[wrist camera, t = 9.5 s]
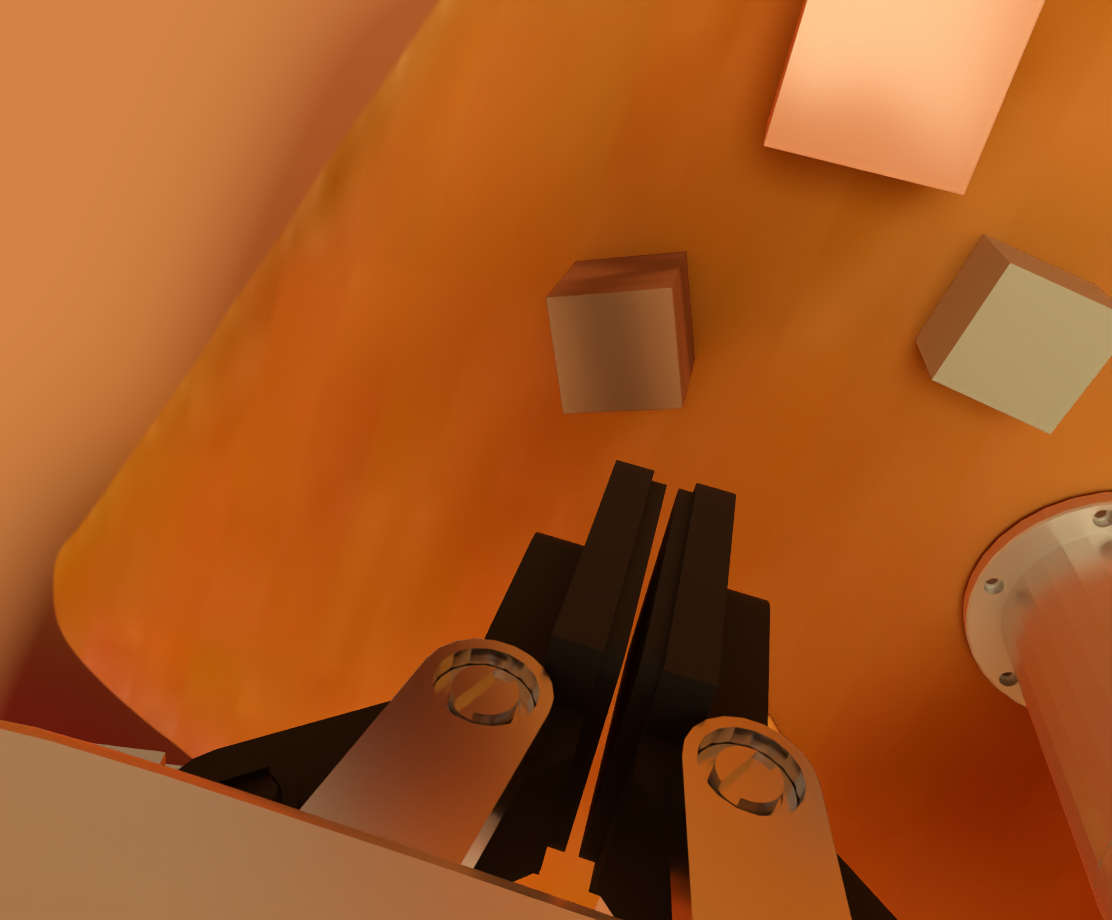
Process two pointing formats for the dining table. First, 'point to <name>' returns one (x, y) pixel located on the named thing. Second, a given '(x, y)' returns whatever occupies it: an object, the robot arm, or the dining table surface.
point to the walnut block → (623, 333)
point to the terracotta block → (899, 84)
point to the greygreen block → (1018, 334)
